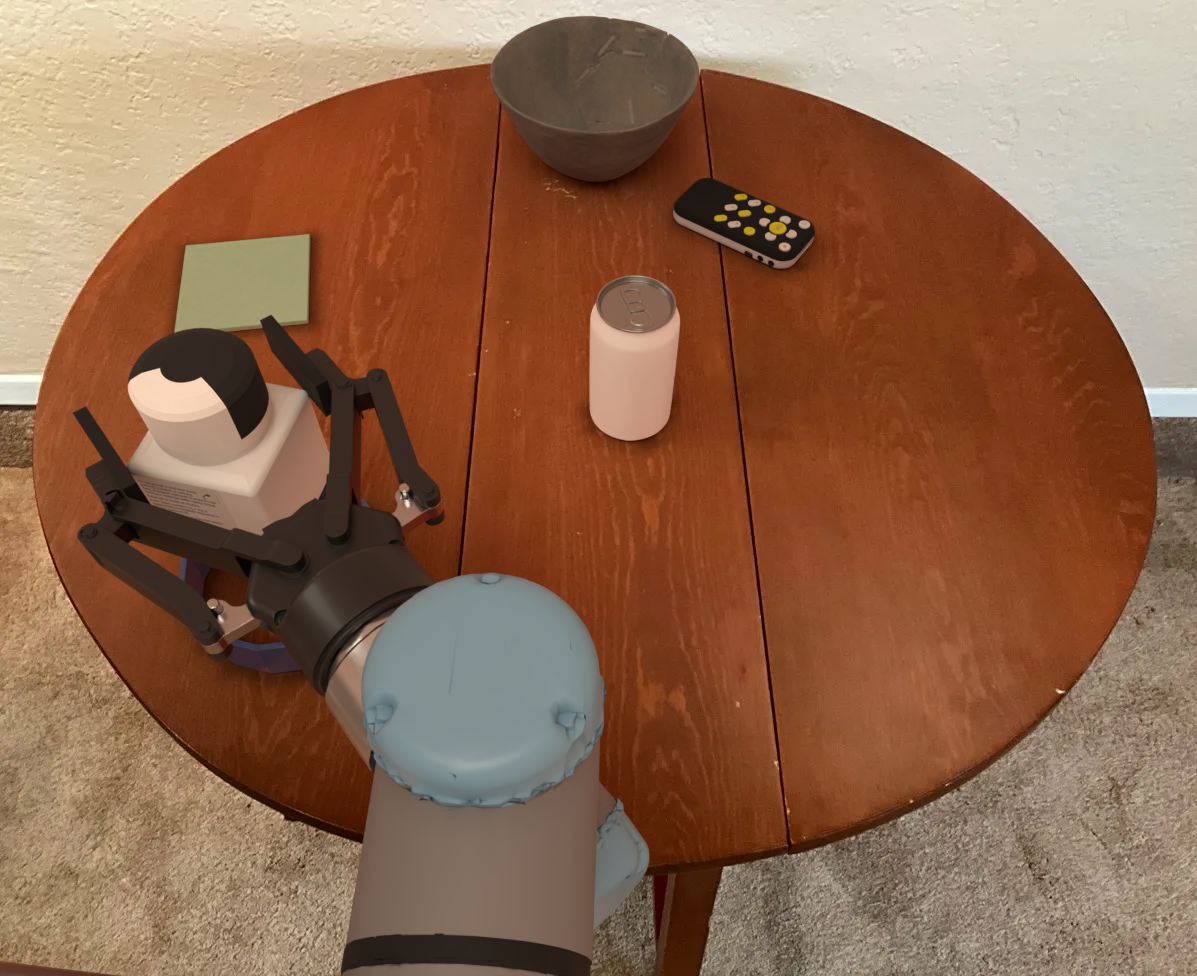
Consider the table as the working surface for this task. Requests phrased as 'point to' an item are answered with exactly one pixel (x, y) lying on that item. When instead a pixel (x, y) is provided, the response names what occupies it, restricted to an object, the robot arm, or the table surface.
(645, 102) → the bowl
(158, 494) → the container
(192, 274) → the mat
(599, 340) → the can
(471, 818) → the robot arm
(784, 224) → the remote control
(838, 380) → the table surface
